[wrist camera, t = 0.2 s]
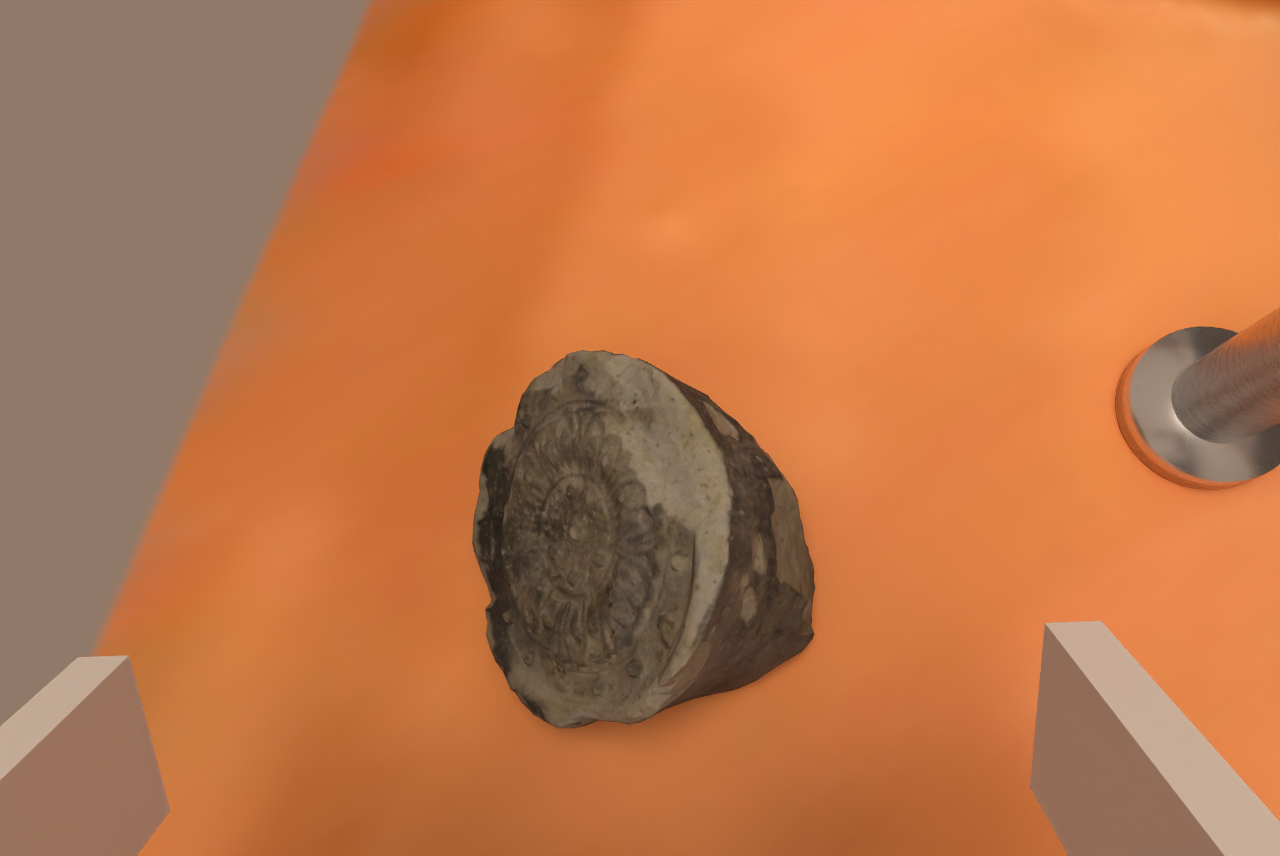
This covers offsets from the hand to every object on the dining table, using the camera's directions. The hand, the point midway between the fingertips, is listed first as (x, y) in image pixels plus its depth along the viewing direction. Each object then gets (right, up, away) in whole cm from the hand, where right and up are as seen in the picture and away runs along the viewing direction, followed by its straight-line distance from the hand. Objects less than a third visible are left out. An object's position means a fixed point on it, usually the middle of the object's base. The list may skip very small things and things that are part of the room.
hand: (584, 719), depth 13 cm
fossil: (0, 0, +17) cm, 17 cm away
